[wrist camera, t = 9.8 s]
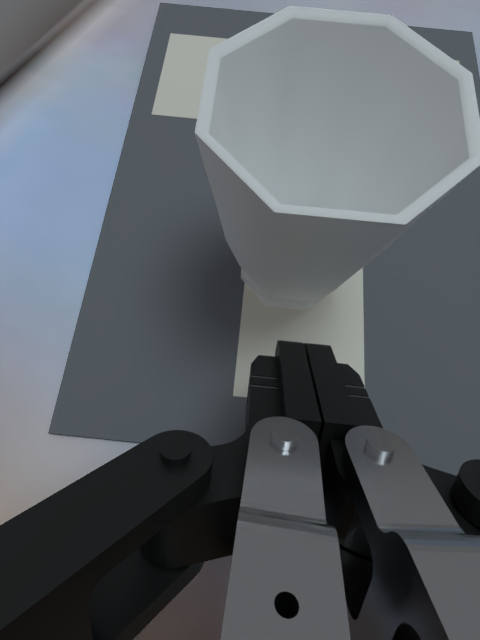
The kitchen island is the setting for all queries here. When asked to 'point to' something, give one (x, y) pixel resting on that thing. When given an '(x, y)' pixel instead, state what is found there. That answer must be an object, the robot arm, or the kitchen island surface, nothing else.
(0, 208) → the kitchen island surface
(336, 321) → the t mat
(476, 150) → the cup
